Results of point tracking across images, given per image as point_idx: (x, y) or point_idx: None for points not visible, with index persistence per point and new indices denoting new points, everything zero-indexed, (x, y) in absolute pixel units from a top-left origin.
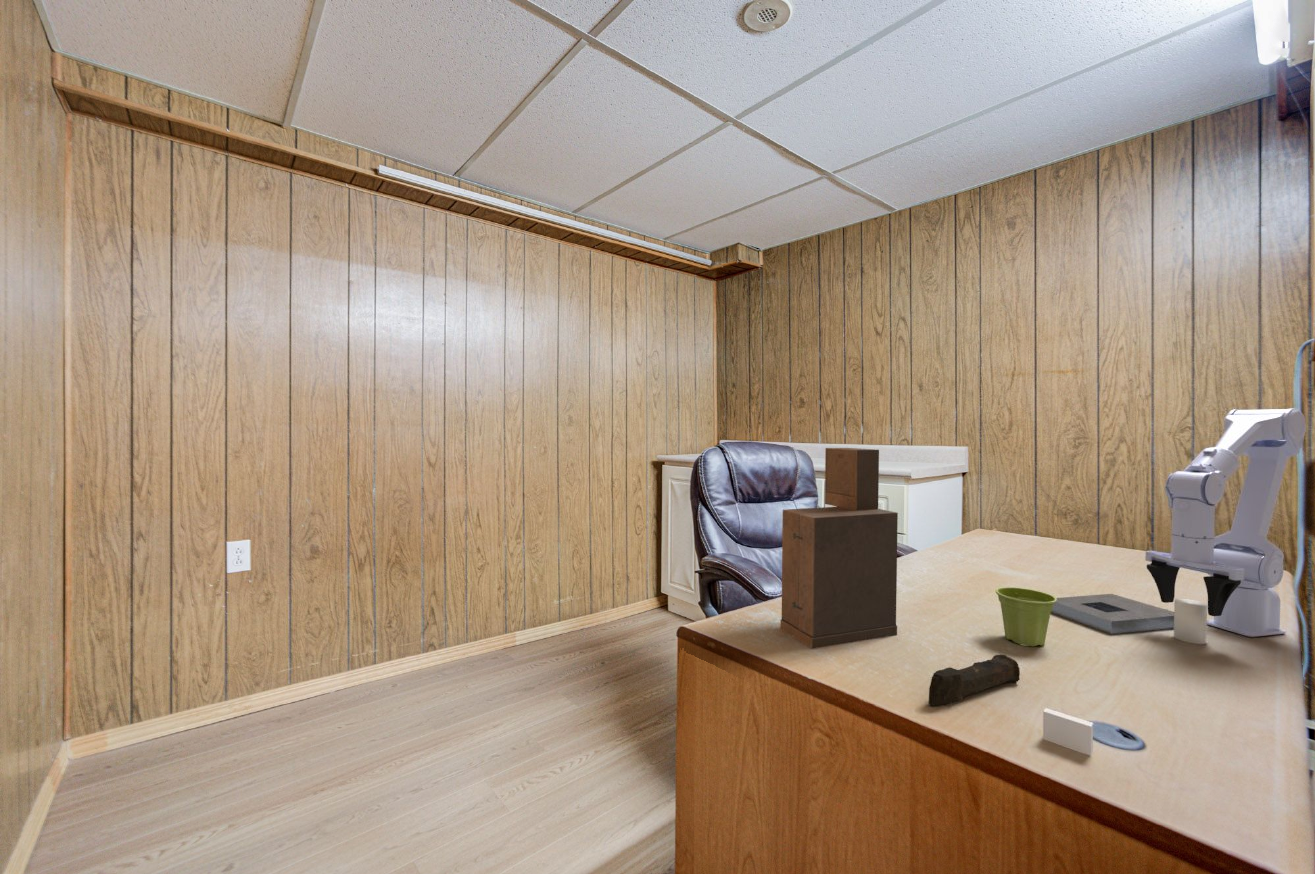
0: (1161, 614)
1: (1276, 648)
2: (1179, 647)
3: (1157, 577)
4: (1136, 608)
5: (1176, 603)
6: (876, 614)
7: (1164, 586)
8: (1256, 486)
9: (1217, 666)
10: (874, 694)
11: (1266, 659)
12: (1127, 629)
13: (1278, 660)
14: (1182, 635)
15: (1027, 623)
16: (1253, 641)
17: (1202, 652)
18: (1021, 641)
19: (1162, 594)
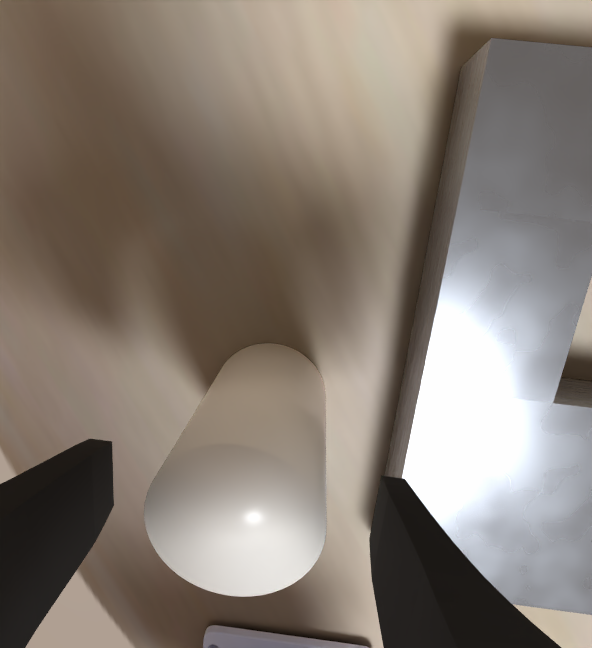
0: (430, 497)
1: (116, 583)
2: (216, 232)
3: (490, 635)
4: (551, 485)
5: (285, 449)
6: None
7: (414, 583)
8: None
9: (8, 125)
10: None
11: (41, 427)
12: (442, 197)
13: (27, 456)
14: (263, 351)
15: None
16: (184, 593)
17: (146, 265)
18: None
19: (405, 509)
